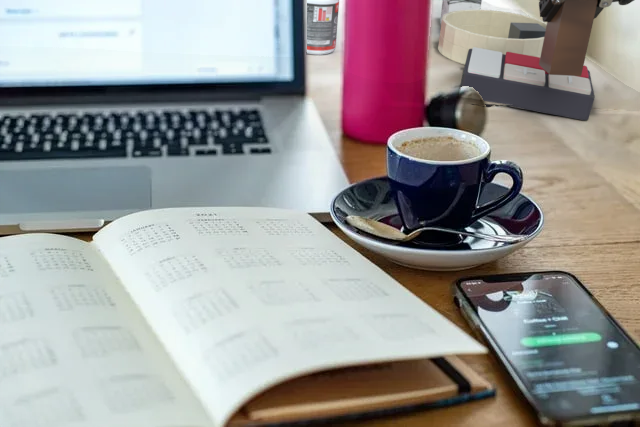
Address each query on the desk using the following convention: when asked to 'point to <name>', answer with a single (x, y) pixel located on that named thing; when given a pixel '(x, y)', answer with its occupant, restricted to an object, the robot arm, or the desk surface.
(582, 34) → the brown tall block
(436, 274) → the desk surface
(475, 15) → the bowl
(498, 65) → the grey switch panel
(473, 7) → the ink box
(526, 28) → the slate block
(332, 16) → the pill bottle
